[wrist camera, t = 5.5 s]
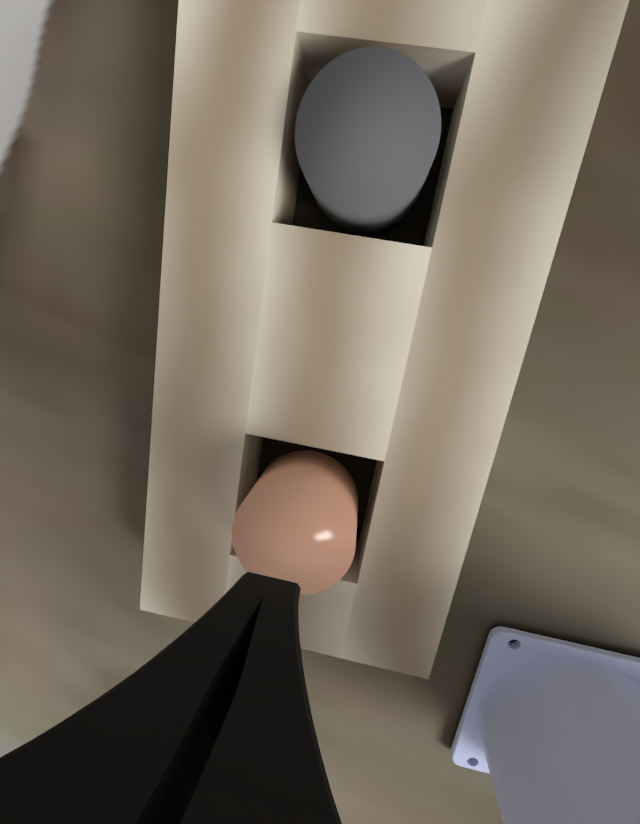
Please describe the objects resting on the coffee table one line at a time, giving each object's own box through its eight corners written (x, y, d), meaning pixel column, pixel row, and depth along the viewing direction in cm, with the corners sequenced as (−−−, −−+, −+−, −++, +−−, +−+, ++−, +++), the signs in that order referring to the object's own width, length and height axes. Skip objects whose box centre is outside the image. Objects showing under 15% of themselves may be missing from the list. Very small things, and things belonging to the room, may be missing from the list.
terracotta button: (367, 461, 15) (367, 496, 12) (348, 554, 16) (343, 607, 13) (264, 440, 15) (239, 469, 12) (251, 532, 16) (225, 579, 13)
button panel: (592, -5, 13) (659, -101, 10) (419, 622, 18) (428, 679, 16) (226, -43, 13) (187, -141, 11) (174, 565, 19) (139, 609, 17)
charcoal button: (438, 113, 13) (458, 55, 10) (411, 241, 14) (422, 222, 11) (320, 98, 13) (306, 37, 11) (302, 224, 14) (284, 200, 12)
